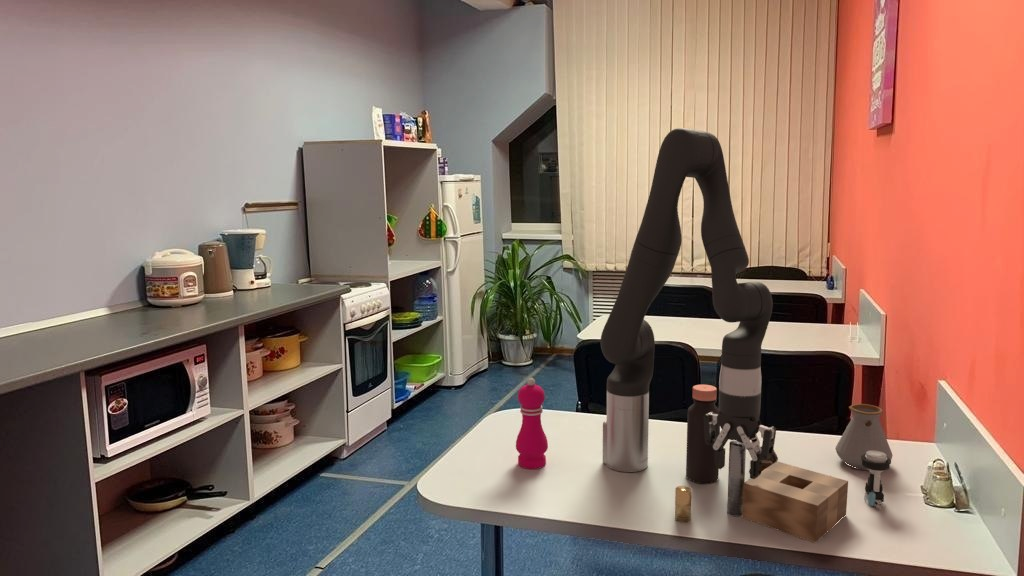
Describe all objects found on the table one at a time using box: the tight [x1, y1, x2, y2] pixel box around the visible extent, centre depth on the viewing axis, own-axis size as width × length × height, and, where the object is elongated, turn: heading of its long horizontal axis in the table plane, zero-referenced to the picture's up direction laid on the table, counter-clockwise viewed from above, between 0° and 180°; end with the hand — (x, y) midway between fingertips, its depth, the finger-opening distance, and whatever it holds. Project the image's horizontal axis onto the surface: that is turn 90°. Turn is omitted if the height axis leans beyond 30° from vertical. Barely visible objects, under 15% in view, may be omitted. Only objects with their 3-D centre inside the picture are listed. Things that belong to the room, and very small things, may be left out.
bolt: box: [748, 445, 779, 474], centre depth 163 cm, size 6×5×15 cm
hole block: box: [741, 460, 849, 543], centre depth 142 cm, size 14×14×7 cm
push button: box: [861, 450, 892, 510], centre depth 147 cm, size 7×5×10 cm
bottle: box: [685, 384, 721, 485], centre depth 159 cm, size 7×7×20 cm
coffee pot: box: [835, 403, 893, 472], centre depth 161 cm, size 21×12×15 cm, turn 156°
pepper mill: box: [515, 377, 549, 470], centre depth 168 cm, size 7×7×20 cm
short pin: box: [674, 485, 693, 524], centre depth 142 cm, size 3×3×6 cm
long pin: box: [726, 440, 747, 517], centre depth 144 cm, size 3×3×14 cm
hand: (736, 472), depth 143 cm, fingers open, 6 cm apart
